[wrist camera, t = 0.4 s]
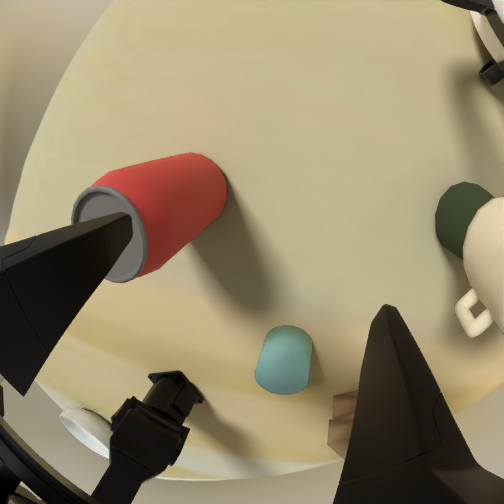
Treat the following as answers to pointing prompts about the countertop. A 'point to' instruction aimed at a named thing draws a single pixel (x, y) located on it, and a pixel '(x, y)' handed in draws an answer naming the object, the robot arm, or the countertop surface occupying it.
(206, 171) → the beer can
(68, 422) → the cereal bowl
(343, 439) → the stepped brown block
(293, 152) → the countertop surface
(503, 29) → the coffee press
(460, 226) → the character mug
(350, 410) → the bottom slab
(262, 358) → the teal rounded cylinder
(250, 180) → the countertop surface
